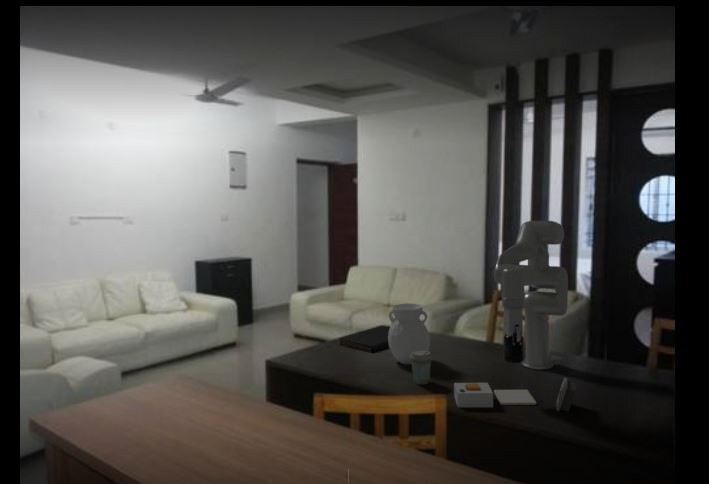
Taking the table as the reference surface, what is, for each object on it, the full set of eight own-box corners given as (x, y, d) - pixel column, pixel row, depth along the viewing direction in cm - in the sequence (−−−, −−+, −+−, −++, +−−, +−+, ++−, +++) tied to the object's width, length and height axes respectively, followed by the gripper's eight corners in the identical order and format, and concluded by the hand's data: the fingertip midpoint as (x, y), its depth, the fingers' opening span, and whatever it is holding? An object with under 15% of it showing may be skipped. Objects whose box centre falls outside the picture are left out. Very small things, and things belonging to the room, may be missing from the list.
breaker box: (487, 396, 184) (487, 381, 184) (493, 407, 174) (492, 391, 174) (454, 396, 185) (454, 381, 184) (457, 407, 175) (457, 392, 175)
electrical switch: (556, 401, 177) (559, 375, 176) (572, 404, 175) (575, 378, 174) (556, 412, 169) (559, 385, 168) (573, 415, 167) (575, 388, 166)
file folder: (382, 324, 281) (416, 332, 264) (382, 332, 282) (416, 339, 265) (338, 337, 258) (372, 346, 241) (338, 345, 259) (373, 354, 242)
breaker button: (477, 395, 181) (477, 383, 181) (479, 399, 177) (479, 387, 177) (466, 395, 181) (466, 383, 181) (468, 399, 178) (467, 387, 177)
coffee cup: (418, 387, 195) (418, 356, 194) (406, 380, 202) (405, 351, 202) (436, 383, 199) (436, 353, 198) (424, 376, 206) (423, 348, 205)
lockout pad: (527, 391, 187) (527, 389, 187) (536, 404, 175) (536, 402, 175) (494, 391, 188) (493, 389, 188) (500, 404, 176) (500, 402, 176)
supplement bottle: (525, 364, 176) (524, 330, 175) (504, 363, 178) (504, 329, 177) (522, 358, 183) (522, 325, 182) (503, 357, 184) (502, 325, 183)
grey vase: (382, 366, 222) (381, 309, 220) (395, 353, 239) (394, 301, 237) (424, 369, 215) (423, 311, 213) (434, 357, 232) (433, 303, 230)
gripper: (497, 298, 188) (498, 345, 189) (507, 308, 170) (508, 360, 172) (518, 297, 187) (518, 345, 188) (530, 307, 170) (531, 359, 171)
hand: (513, 351), depth 180 cm, fingers closed on supplement bottle, 6 cm apart
